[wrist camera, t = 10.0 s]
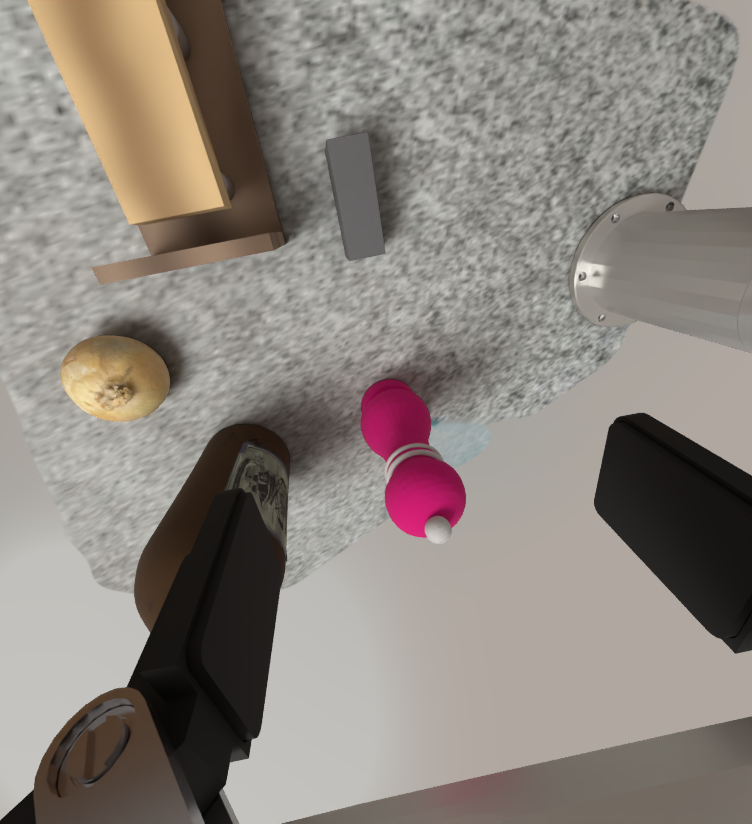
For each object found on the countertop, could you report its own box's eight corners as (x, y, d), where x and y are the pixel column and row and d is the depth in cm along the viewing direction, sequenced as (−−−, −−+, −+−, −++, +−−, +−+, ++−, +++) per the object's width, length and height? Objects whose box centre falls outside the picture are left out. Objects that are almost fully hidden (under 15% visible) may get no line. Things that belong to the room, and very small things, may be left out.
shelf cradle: (204, -60, 23) (134, -240, 14) (286, 244, 31) (273, 250, 23) (31, -33, 22) (-156, -203, 13) (162, 268, 31) (100, 284, 22)
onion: (140, 418, 37) (104, 457, 31) (67, 361, 33) (9, 392, 27) (195, 373, 36) (169, 404, 29) (125, 309, 32) (78, 329, 26)
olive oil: (249, 507, 44) (183, 782, 22) (178, 456, 39) (4, 741, 18) (314, 460, 42) (310, 710, 20) (247, 400, 38) (150, 640, 16)
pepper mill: (428, 383, 40) (514, 506, 22) (405, 436, 43) (466, 582, 25) (368, 367, 38) (411, 487, 20) (348, 424, 41) (372, 572, 23)
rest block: (360, 145, 29) (367, 131, 25) (377, 250, 33) (385, 253, 29) (325, 151, 29) (326, 139, 25) (345, 256, 33) (349, 260, 29)
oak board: (149, -48, 19) (128, -82, 17) (232, 208, 25) (224, 206, 22) (35, -29, 19) (-1, -62, 16) (145, 224, 24) (129, 224, 22)
